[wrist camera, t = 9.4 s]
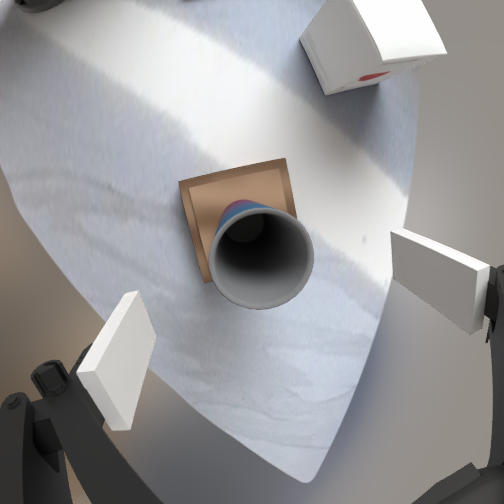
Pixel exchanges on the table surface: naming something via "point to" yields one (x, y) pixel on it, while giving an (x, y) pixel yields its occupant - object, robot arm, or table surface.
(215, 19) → the table surface
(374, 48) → the supplement box
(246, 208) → the cup
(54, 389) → the robot arm
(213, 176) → the pedestal
